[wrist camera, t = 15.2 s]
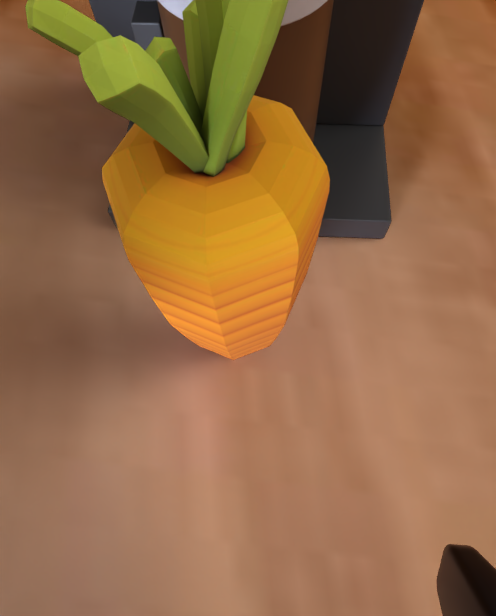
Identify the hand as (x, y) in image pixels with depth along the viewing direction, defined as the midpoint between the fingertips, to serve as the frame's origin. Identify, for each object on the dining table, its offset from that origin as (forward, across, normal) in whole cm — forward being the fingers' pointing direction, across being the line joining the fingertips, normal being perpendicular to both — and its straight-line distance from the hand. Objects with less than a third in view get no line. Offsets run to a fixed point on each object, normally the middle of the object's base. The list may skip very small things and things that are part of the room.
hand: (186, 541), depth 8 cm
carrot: (+11, 0, +2) cm, 11 cm away
